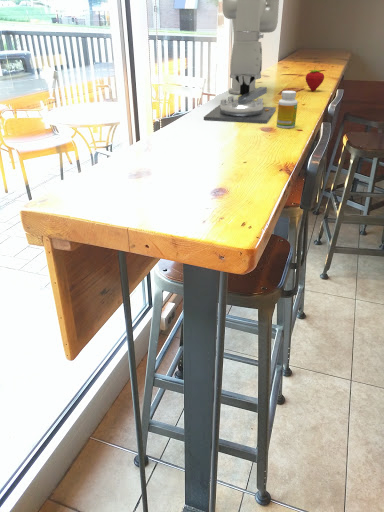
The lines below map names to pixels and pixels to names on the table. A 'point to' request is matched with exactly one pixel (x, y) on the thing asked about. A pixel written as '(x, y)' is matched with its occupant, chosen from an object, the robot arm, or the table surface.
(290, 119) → the supplement bottle
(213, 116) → the plate
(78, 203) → the table surface
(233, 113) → the grey disc with handle
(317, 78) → the strawberry
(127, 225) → the table surface
